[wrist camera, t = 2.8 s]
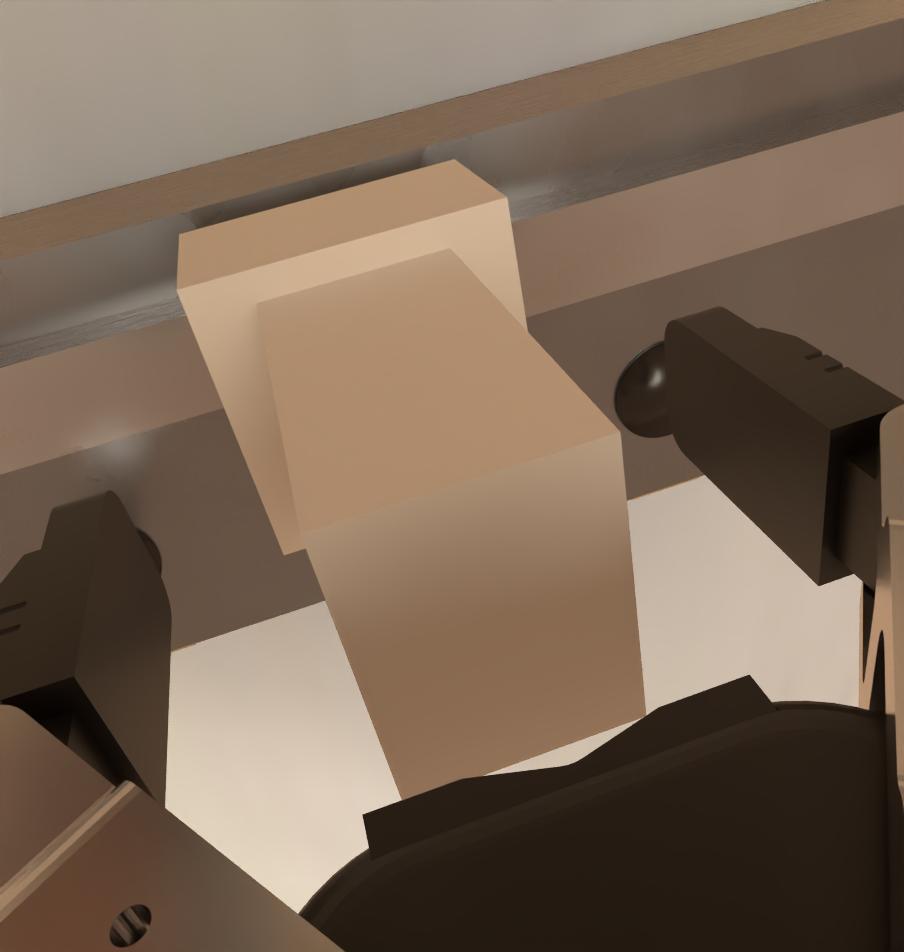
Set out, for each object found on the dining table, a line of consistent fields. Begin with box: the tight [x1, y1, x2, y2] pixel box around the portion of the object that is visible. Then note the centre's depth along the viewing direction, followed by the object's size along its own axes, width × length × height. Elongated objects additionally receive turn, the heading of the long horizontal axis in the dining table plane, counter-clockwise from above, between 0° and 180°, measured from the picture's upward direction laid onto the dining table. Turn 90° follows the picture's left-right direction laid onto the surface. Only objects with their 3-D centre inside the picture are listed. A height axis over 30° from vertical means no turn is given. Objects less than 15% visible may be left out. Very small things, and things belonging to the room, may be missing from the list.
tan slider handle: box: [176, 159, 646, 800], centre depth 13 cm, size 8×5×10 cm, turn 13°
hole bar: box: [0, 0, 904, 652], centre depth 17 cm, size 10×28×11 cm, turn 103°
